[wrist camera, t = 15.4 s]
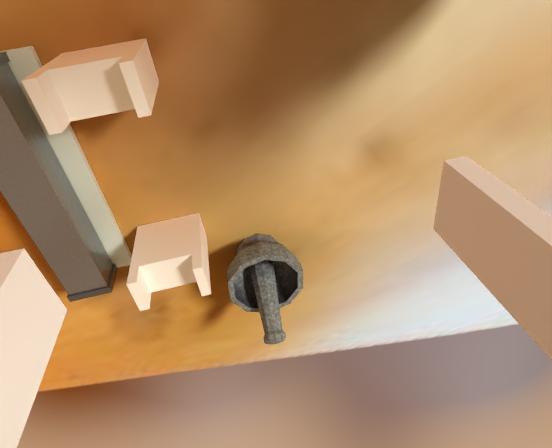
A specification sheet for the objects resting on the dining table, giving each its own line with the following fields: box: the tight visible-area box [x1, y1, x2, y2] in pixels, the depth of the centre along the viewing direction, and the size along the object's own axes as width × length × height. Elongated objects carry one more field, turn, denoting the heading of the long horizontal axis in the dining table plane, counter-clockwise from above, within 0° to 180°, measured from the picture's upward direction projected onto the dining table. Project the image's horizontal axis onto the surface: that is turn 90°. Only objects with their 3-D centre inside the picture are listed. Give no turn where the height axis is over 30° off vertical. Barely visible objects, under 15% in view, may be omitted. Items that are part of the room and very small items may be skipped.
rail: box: [0, 52, 117, 302], centre depth 38 cm, size 26×5×4 cm, turn 8°
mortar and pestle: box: [227, 234, 303, 344], centre depth 47 cm, size 11×9×12 cm
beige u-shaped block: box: [126, 213, 211, 311], centre depth 43 cm, size 4×8×10 cm, turn 98°
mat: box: [0, 45, 132, 268], centre depth 40 cm, size 26×9×1 cm, turn 8°
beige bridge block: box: [22, 38, 159, 135], centre depth 31 cm, size 4×8×10 cm, turn 98°
